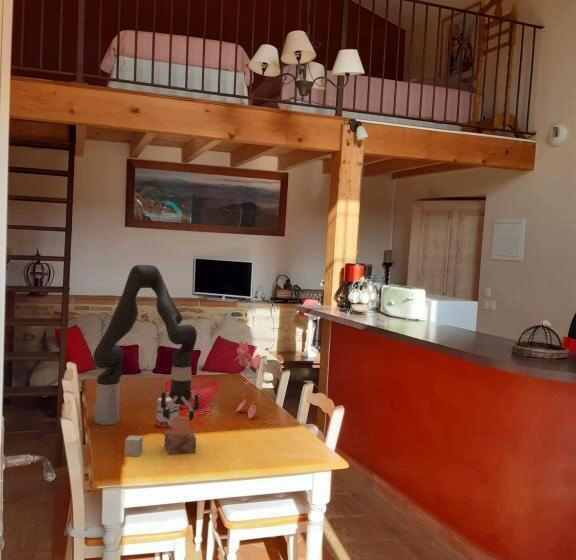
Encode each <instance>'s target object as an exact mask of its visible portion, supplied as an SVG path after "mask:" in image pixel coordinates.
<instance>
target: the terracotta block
mask: <svg viewBox="0 0 576 560" xmlns="http://www.w3.org/2000/svg"><path fill="white" fill-rule="evenodd" d="M188 430H189V416H179V417H175V418H174V419H173V420H172V427H171V431H172V436H182V437H185V436H186V434H187V433H188Z"/></svg>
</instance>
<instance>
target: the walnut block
mask: <svg viewBox="0 0 576 560" xmlns="http://www.w3.org/2000/svg"><path fill="white" fill-rule="evenodd" d="M196 447H197V437H196V436H195V434H194V433H193V431H192V429H188V433H187V434H186V436H185V437H182V436H172V430H168V431H164V448H165V450H166V452H167V455H169V456H172V455H185V454H196V452H197V451H196Z"/></svg>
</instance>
